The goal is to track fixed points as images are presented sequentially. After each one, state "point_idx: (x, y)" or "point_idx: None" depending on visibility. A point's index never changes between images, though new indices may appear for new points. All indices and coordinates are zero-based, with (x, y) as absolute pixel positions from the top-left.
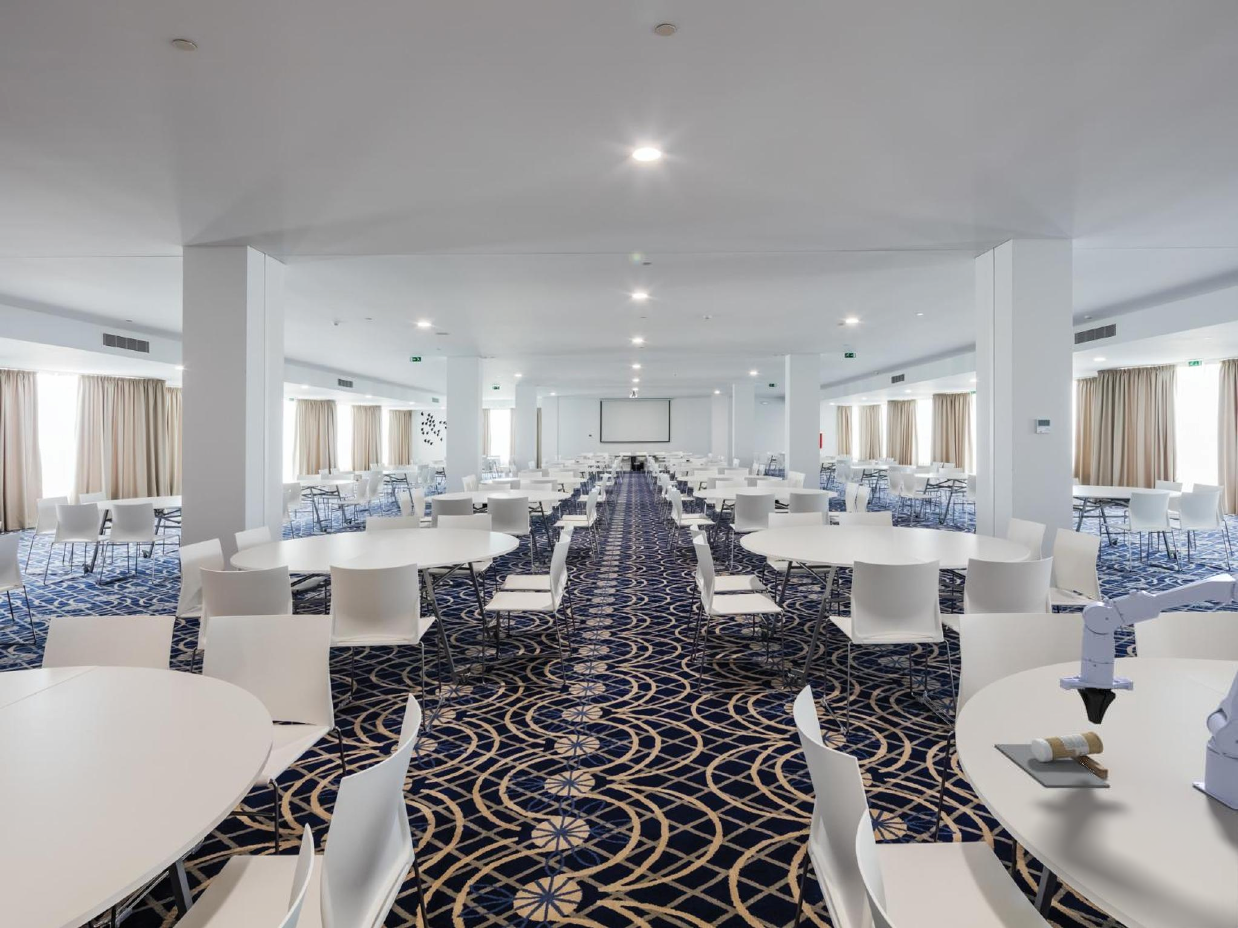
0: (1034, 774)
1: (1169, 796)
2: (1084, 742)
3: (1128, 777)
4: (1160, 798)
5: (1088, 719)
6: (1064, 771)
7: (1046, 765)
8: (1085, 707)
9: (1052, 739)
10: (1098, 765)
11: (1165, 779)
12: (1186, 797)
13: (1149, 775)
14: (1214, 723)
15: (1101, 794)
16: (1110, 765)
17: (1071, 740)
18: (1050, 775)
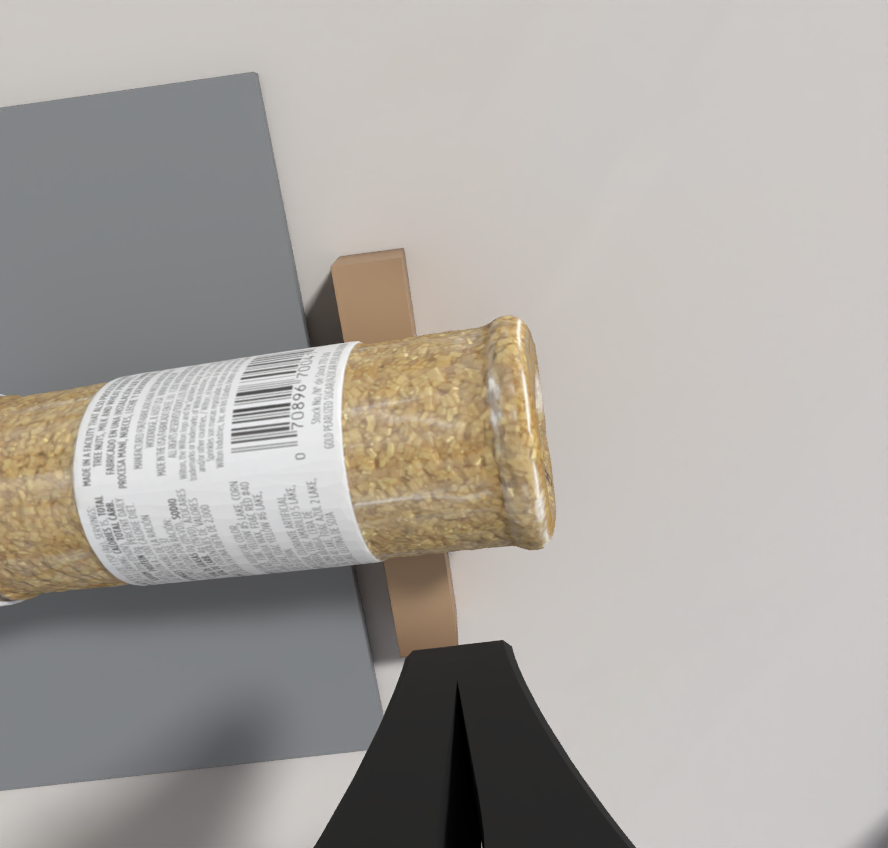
0: None
1: (703, 792)
2: (349, 564)
3: (613, 597)
4: (625, 818)
5: (406, 664)
6: (152, 610)
7: None
8: (343, 798)
9: (16, 547)
10: (422, 593)
11: (873, 591)
12: (803, 790)
13: (801, 548)
14: None
15: (282, 821)
16: (605, 424)
17: (212, 564)
18: (24, 679)
